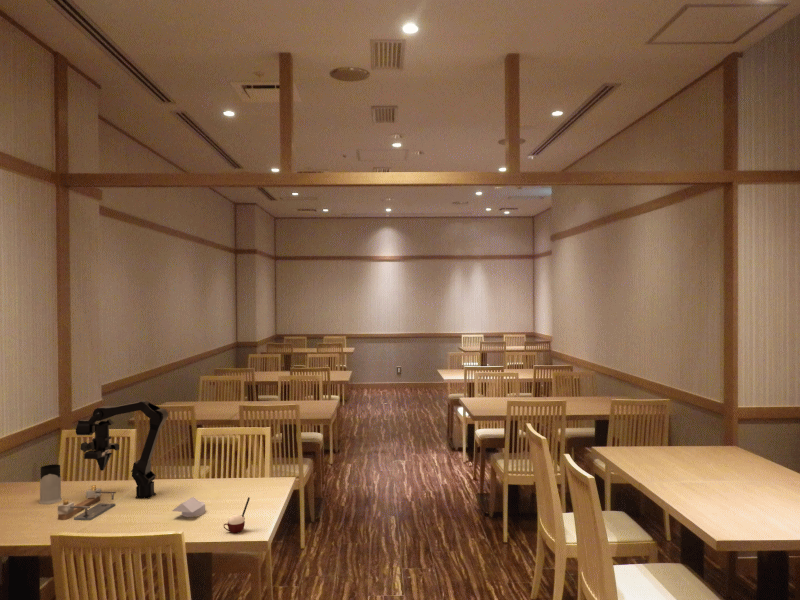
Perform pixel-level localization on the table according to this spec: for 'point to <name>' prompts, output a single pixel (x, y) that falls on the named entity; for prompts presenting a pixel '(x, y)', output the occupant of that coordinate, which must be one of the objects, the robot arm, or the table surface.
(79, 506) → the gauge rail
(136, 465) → the robot arm
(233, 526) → the cocoa
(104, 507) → the flange plate
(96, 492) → the carriage
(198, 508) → the wedge on round base
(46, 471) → the glass holder
